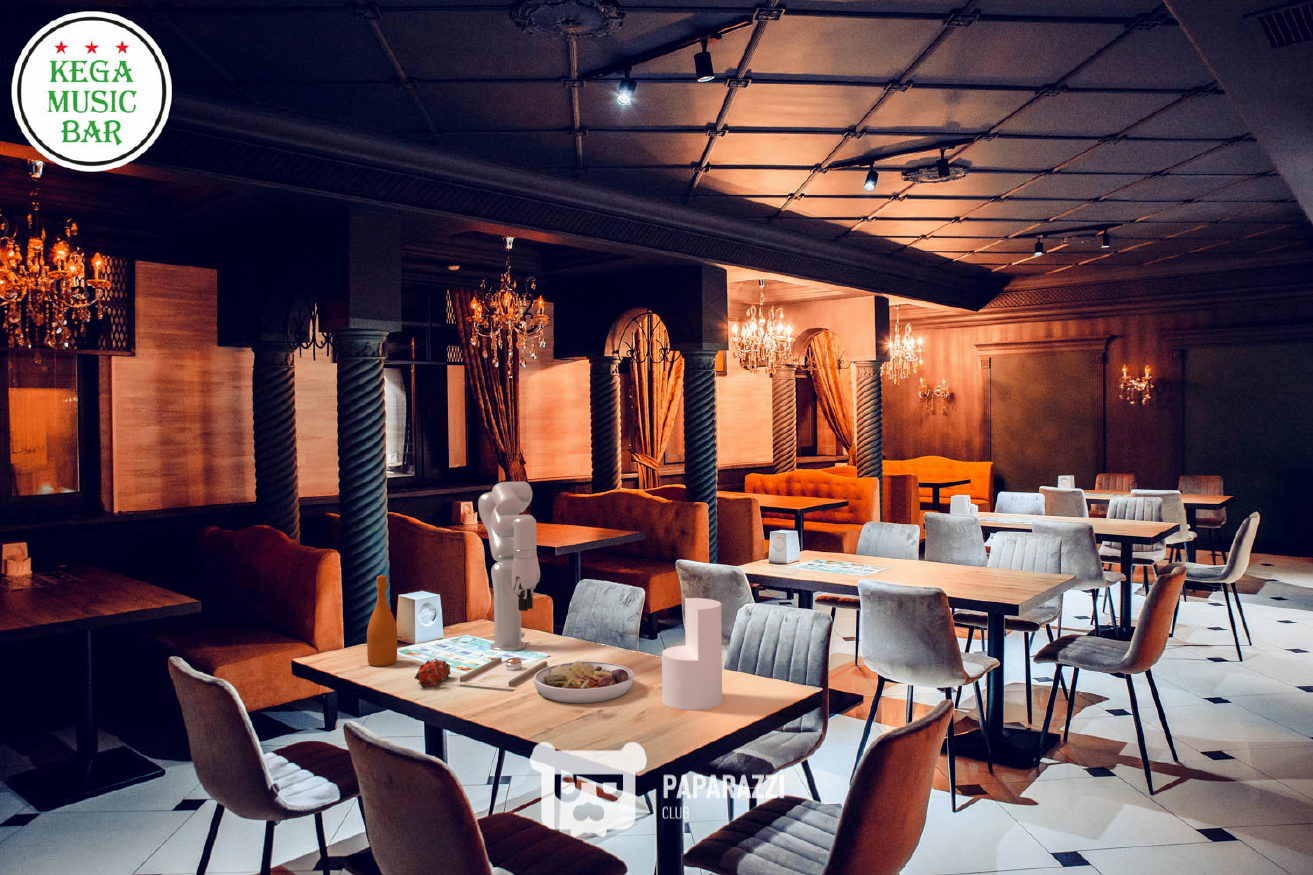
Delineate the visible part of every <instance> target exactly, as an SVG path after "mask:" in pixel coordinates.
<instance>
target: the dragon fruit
mask: <svg viewBox="0 0 1313 875" xmlns="http://www.w3.org/2000/svg"><path fill="white" fill-rule="evenodd" d="M450 675H451V664H449V663H447V661H446V660H443V659H442V660H441V661H440V660H439V659H437V658H434V660H433V661H432V660H427V661H425V663H423V664H421V665H420V667H419V670H418V671H417V673H416V674H415V676H414V680H418V685H420V686H421V687H429V686H432V685H433V687H434V688H436V687H437V686H439V685H442V684H443V682H444V681H445V680H448V679H449V678H450ZM442 681H443V682H442Z"/></svg>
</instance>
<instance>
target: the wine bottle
mask: <svg viewBox="0 0 1313 875" xmlns="http://www.w3.org/2000/svg"><path fill="white" fill-rule="evenodd" d="M387 581H388V577H387V576H386V575H384V574H381V575H378V576H377V577H376V585H375V586H376V589H377V598H376V603H375V607H374V609H373V612H372V614H371V616H370V619H369V621H368V622H369V623H368V626H367V631H366V652H367V653H366V654H367V663H368V665H370V666H372V667H373V666H374V667H386V666H391V665H392V664H395V663H396V662H397V660H398V626H397V623H396V620H395V618H394V615H393V613H392V611H391V608H390V606H389V603H388V598H387V588H388V582H387Z"/></svg>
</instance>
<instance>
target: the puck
mask: <svg viewBox="0 0 1313 875" xmlns="http://www.w3.org/2000/svg"><path fill="white" fill-rule="evenodd" d="M505 663H506V670H508V671H517V670H521V669H522V664H523V661H522V659H521V658H519V657H510V658H507V660H506V662H505Z"/></svg>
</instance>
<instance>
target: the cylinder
mask: <svg viewBox="0 0 1313 875" xmlns="http://www.w3.org/2000/svg"><path fill="white" fill-rule="evenodd" d="M684 601H685V603H684V610H685V611H684V612H685V614H684V616H685V618H684V619H685V624H684V628H685V634H684V635H685V645H676V646H671V647H668V648H665V649H663V651H662V652H661V674H662V675H661V686H662V688H661V696H662V697H661V698H662V703H663V704H664V705H665V706H667V707H670V708H673V709H677V710H683V711H701V710H709V709H713V708H715V707H718V706H719V705H721V704H722V702H723V668H722V667H723V664H722V662H723V660H722V658H723V657H722V656H723V654H722V650H723V648H722V640H723V639H722V603H721V602H720V601H719V600H716V599H711V598H704V597H703V598H701V597H685V598H684Z"/></svg>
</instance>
